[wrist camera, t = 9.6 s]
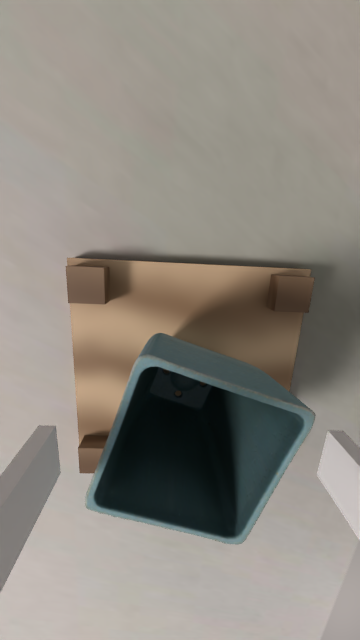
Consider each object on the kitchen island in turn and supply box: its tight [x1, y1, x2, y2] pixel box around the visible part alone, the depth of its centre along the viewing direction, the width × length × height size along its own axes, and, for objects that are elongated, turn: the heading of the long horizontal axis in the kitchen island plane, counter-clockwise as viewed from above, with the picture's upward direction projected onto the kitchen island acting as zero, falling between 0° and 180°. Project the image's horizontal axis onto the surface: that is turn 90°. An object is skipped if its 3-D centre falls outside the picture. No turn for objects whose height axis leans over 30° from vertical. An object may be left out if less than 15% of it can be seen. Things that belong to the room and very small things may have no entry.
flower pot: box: [85, 333, 315, 544], centre depth 16 cm, size 9×9×9 cm
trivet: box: [66, 258, 315, 473], centre depth 20 cm, size 18×18×3 cm
